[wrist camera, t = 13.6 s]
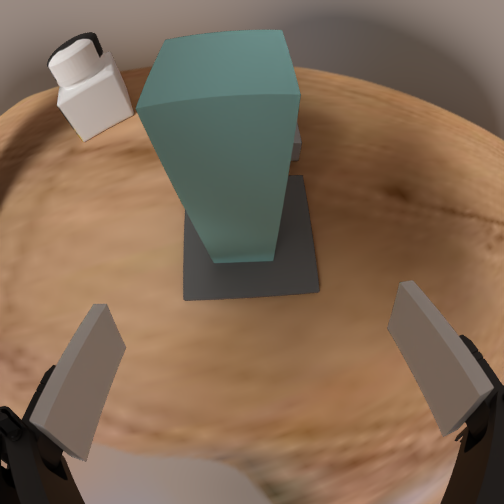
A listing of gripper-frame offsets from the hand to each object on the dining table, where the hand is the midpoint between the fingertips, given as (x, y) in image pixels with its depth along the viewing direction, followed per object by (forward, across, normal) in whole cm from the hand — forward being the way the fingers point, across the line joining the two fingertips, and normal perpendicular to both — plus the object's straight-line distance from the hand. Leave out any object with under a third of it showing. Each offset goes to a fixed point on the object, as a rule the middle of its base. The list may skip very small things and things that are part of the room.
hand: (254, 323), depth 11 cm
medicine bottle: (+24, -17, +12) cm, 32 cm away
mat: (+11, 0, -1) cm, 11 cm away
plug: (+11, 0, 0) cm, 11 cm away
